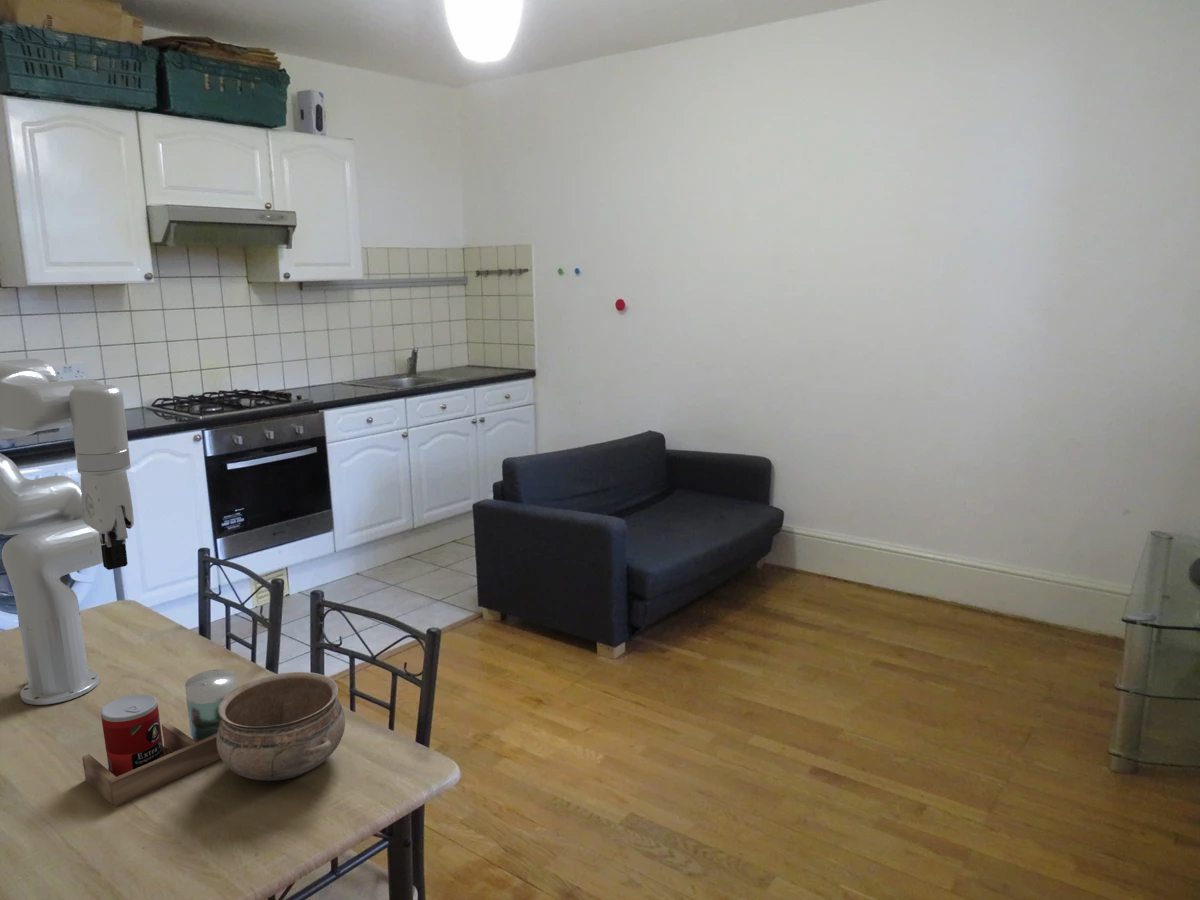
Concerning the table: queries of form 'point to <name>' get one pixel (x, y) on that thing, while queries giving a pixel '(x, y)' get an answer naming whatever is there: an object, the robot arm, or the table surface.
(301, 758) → the cooking pot
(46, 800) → the table surface
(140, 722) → the canned food
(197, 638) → the table surface
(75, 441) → the robot arm
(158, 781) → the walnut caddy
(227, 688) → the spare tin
